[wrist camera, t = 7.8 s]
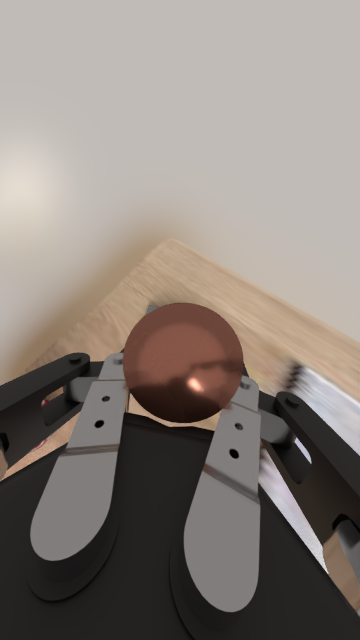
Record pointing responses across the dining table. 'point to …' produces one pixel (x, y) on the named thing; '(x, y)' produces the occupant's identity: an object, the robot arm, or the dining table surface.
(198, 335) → the ball
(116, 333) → the dining table surface
